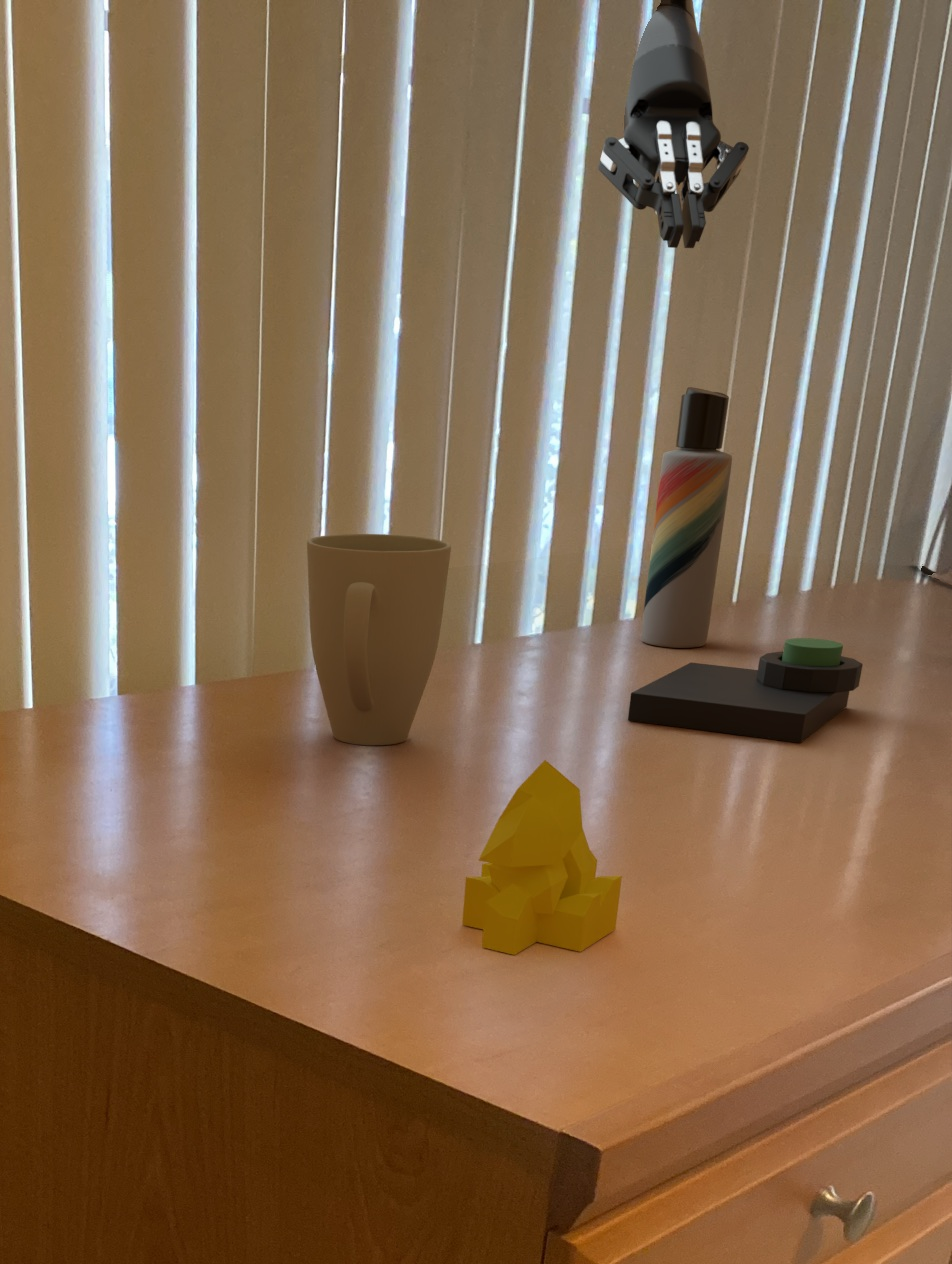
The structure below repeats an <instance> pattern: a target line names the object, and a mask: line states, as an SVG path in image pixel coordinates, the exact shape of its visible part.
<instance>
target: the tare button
mask: <svg viewBox="0 0 952 1264" xmlns="http://www.w3.org/2000/svg"><path fill="white" fill-rule="evenodd" d="M843 648H844V644H843V643H841V642H838V641H835V640H829V639H823V638H811V637H797V638H794V637H793V638H789V639H788V638H787V639H785V640H784V645H783V651H782V652H783V656H782V661H783V662H788V663H792V664H797V665H806V666H839V665H840V660H841V656H842V655H843V654H842V653H843Z"/></svg>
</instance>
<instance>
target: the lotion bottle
mask: <svg viewBox="0 0 952 1264" xmlns="http://www.w3.org/2000/svg"><path fill="white" fill-rule="evenodd" d="M680 399H681V400H680V407H679V415H678V416H679V417H678V423H677V430H676V432H677V433H676V441H675V447H676V448H677V449H673V450H668V451H665V452H663V455H662V460H661V466H660V475H659V481H658V489H657V498H656V505H655V506H656V507H655V516H654V523H653V530H652V538H651V539H652V540H651V548H650V556H649V565H648V573H647V581H646V590H645V596H644V597H645V598H644V606H643V615H642V622H641V623H642V624H641V634H640V635H641V637H640V638H641V641H642V642H643V643H644V644H647V645H652V646H657V647H663V648H674V649H675V648H676V649H693V648H699V647H703V646H705V645H706V643H707V640H708V636H709V628H710V623H711V616H712V608H713V601H714V596H715V595H714V594H715V587H716V580H717V574H718V573H717V572H718V565H719V560H720V552H721V544H722V538H723V537H722V536H723V531H724V523H725V515H726V507H727V501H728V494H729V487H730V481H731V473H732V472H731V471H732V465H733V464H732V463H733V456H732V455H731V453H728V452H724V451H721V449H722V448H723V444H724V436H725V431H726V430H725V429H726V422H727V421H726V420H727V415H728V407H729V402H730V401H729V400H730V397H729V395H727V394H725V393H723V392H719V391H711V390H708V389H703V388H699V387H692V386H691V387H690V386H688V387H687V388H686V391H685V393H684V394H682V395H681V398H680Z"/></svg>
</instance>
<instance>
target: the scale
mask: <svg viewBox="0 0 952 1264" xmlns="http://www.w3.org/2000/svg"><path fill="white" fill-rule="evenodd" d="M782 656H783V651H776V652H767V653H765V654H763V655H761V656H760V657H759V660H758V667H757V669H753V668H752V669H751V668H744V667H735V666H725V665H716V664H708V663H701V662H689V663H687V664H685V665H683V666H681V667H679V668H676V669H675V670H673V671H671V672H670V673H667V674H665V675H663V676H661V677H660V678H658V679H655V680H654V681H652V682H650V683H648V684H646V685H644V686H641V687H640V688H638V689H636V690H634V691H632V692H631V693H630V698H629V706H628V707H629V708H628V716H627V721H630V722H637V723H645V724H652V725H660V726H667V727H674V728H683V729H689V730H690V729H691V730H698V731H705V732H714V733H720V734H729V735H735V736H744V737H751V738H759V739H766V740H773V741H783V742H787V743H789V742H790V743H797V744H801V743H802V742H804V741H805V740H806V739H808V737H810V736H811V735H813V734H814V733H815V732H816V731H818V730H819V729H820V728H821V727H823V726H824V725H825V724H826V723H828V722H830V721H831V720H832V719H833V718H834V717H836V716H837V715H838V714H840V713H841V712H842V711H843V710H844V709H846V708H847V707H848V701H849V696H850V692H852V691H855V690H856V689H857V688H859V686H860V682H861V677H862V671H863V663H862V662H860V661H858V660H857V659H855V658H851V657H847V656H843V655H841V660H840V665H839V666H806V665H797V664H792V663H788V662H783V661H782Z"/></svg>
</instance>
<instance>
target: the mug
mask: <svg viewBox="0 0 952 1264" xmlns="http://www.w3.org/2000/svg"><path fill="white" fill-rule="evenodd" d="M306 553H307V554H306V555H307V556H306V557H307V559H306V560H307V583H308V587H307V588H308V607H309V608H308V614H309V633H310V644H311V651H312V656H313V661H314V666H315V670H316V671H315V672H316V675H317V678H318V682H319V686H320V690H321V694H322V698H323V702H324V706H325V709H326V713H327V717H328V721H329V725H330V729H331V733H332V736H333V738H334V739H335V740H337V741H339V742H343V743H347V744H352V745H360V746H388V745H389V746H390V745H396V744H397V745H398V744H400V743H403V742H405V741H406V740H407V738H408V736H409V734H410V730H411V728H412V725H413V722H414V719H415V716H416V714H417V711H418V708H419V706H420V703H421V700H422V697H423V694H424V692H425V689H426V686H427V684H428V681H429V678H430V675H431V672H432V669H433V666H434V663H435V659H436V655H437V651H438V647H439V640H440V636H441V635H440V634H441V629H442V628H441V627H442V621H443V613H444V607H445V606H444V605H445V599H446V598H445V597H446V590H447V583H448V574H449V569H450V568H449V567H450V559H451V553H452V544H451V543H450V542H447V541H444V540H440V539H435V538H430V537H423V536H414V535H413V536H412V535H401V534H385V533H384V534H383V533H343V534H340V533H339V534H327V535H320V536H314V537H311V538H308V539H307V540H306Z"/></svg>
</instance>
